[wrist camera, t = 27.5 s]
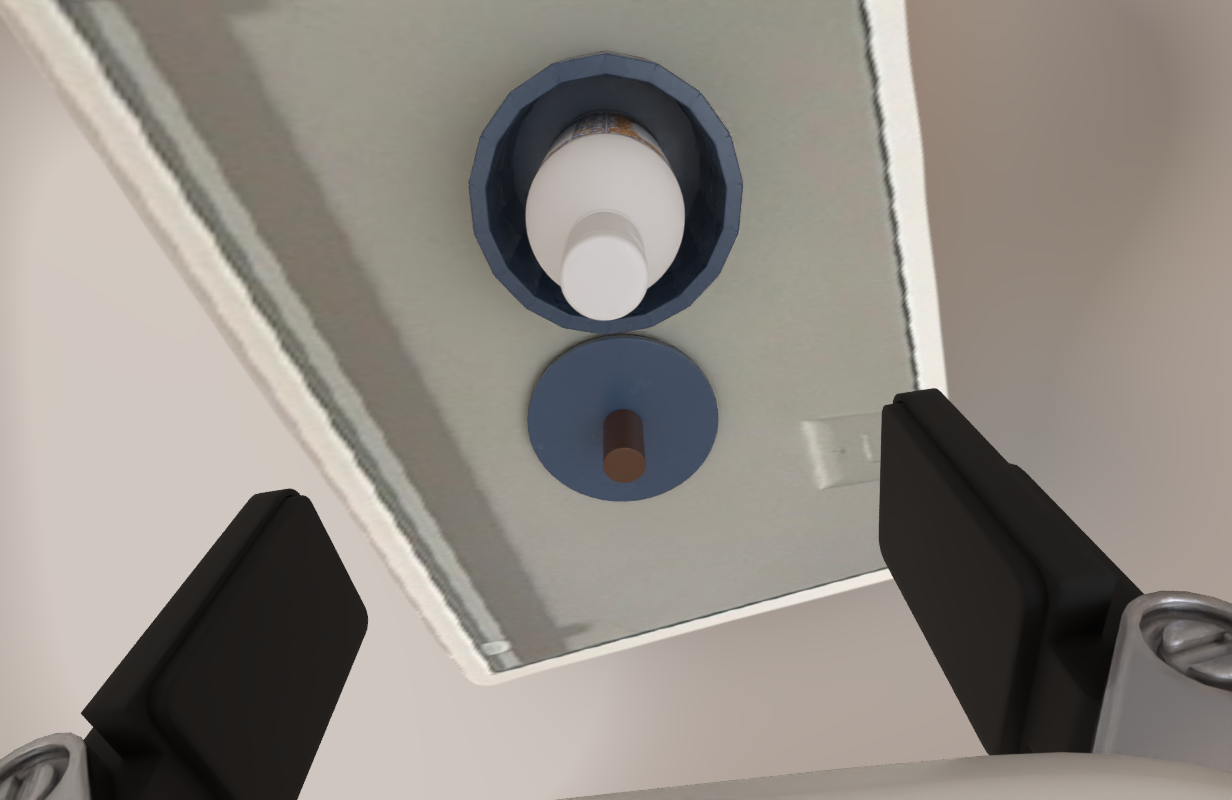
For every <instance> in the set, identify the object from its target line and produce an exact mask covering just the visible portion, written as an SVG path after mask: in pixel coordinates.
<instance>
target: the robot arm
mask: <svg viewBox="0 0 1232 800" xmlns="http://www.w3.org/2000/svg"><path fill="white" fill-rule="evenodd" d="M879 544H880V549H881V553H882V556H883V559H884V561H885V563H886V565H887V567H888V568H889V570H890V572H891V574H892V576H893V578H894V580H895V581H896V583H897V585H898V587H899V589H900V591H901V593H902V595H903V597H904V599H905V600H906V602H907V604H908V606H909V608H910V610H911V611H912V614H913V615H914V617H915V619H916V621H917V623H918V625H919V627H920V628H921V630H922V632H923V634H924V636H925V638H926V640H927V641H928V643H929V645H930V647H931V649H932V651H933V653H934V655H935V657H936V659H937V661H938V662H939V664H940V666H941V668H942V670H943V671H944V674H945V676H946V677H947V679H948V681H949V683H950V685H951V687H952V689H953V691H954V693H955V694H956V696H957V698H958V700H959V702H960V704H961V706H962V707H963V709H964V711H965V713H966V715H967V717H968V719H969V721H970V723H971V724H972V726H973V728H974V730H975V732H976V734H977V736H978V738H979V739H980V741H981V743H982V745H983V747H984V748H985V750H986V752H987V753H988V754H989V756H976V757H965V758H954V759H943V760H932V761H921V762H909V763H898V764H888V765H877V766H865V767H854V768H844V769H834V770H825V771H816V772H807V773H797V774H788V775H778V776H769V777H760V778H751V779H741V780H731V781H722V782H713V783H704V784H695V785H686V786H676V787H667V788H657V789H648V790H639V791H630V792H622V793H612V794H603V795H595V796H585V797H576V798H567V799H558V800H1232V604H1231V603H1228V602H1226V601H1223V600H1220V599H1217V598H1215V597H1211V596H1206V595H1201V594H1196V593H1191V592H1185V591H1158V592H1154V593H1149V594H1143V593H1142V592H1141V591H1140V590H1139V589H1138V588H1137V586H1136V585H1135V584H1134V583H1133V582H1132V581H1131V580H1130V579H1129V578H1128V577H1127V576H1126V575H1125V574H1124V573H1123V572H1122V571H1121V570H1120V569H1119V568H1118V567H1117V566H1116V565H1115V564H1114V563H1113V562H1112V561H1111V560H1110V559H1109V558H1108V557H1107V556H1106V555H1105V554H1104V552H1102V550H1101V549H1100V548H1099V547H1098V546H1097V545H1096V544H1095V543H1094V542H1093V541H1092V540H1091V539H1090V538H1089V537H1088V536H1087V535H1086V534H1085V533H1084V532H1083V531H1082V530H1081V529H1080V528H1079V527H1078V526H1077V525H1076V524H1075V523H1074V522H1073V521H1072V520H1071V518H1069V516H1068V515H1067V514H1066V513H1065V512H1064V511H1063V510H1062V509H1061V508H1060V507H1059V506H1058V505H1057V504H1056V503H1055V502H1054V501H1053V500H1052V499H1051V498H1050V497H1049V496H1048V495H1047V494H1046V493H1045V492H1044V491H1043V490H1042V489H1041V488H1040V487H1039V486H1038V485H1037V483H1036V482H1035V481H1034V480H1032V479H1031V477H1030V476H1029V475H1028V474H1027V473H1026V472H1025V471H1023V470H1022V469H1021V468H1020V467H1018V466H1017V465H1014V464H1010V463H1008V462H1007V461H1006V460H1005V459H1004V458H1003V457H1002V456H1001V455H1000V454H999V453H998V451H997V450H995V448H994V447H993V446H992V445H991V444H990V443H989V442H988V441H987V440H986V439H985V438H984V437H983V436H982V435H981V434H980V433H979V432H978V430H977V429H976V428H974V426H973V425H972V424H971V423H970V422H969V421H968V420H967V419H966V418H965V417H964V416H963V415H962V414H961V413H960V412H959V410H957V408H956V407H955V406H954V405H953V404H952V403H951V402H950V401H949V400H948V399H947V398H946V397H945V396H944V395H943V394H942V393H941V392H940V391H939V390H938V389H935V388H932V389H926V390H919V391H913V392H906V393H900V394H897V395H896V396H895V397H894V400H893V404H890V405H885V406H884V407H883V410H882V427H881V467H880V506H879ZM367 626H368V615H367V611H366V608H365V606H364V604H363V602H362V600H361V598H360V596H359V594H358V592H357V590H356V588H355V586H354V585H353V583H352V581H351V579H350V576H349V575H348V573H347V571H346V569H345V567H344V565H343V563H342V561H341V559H340V557H339V555H338V553H337V551H336V549H335V547H334V545H333V543H332V541H331V539H330V537H329V535H328V534H327V532H326V529H325V528H324V526H323V524H322V522H321V520H320V518H319V516H318V514H317V512H316V510H315V508H314V506H313V504H312V502H311V501H310V499H309V498H308V497H306V496H303V495H302V496H301V495H300V494H299V493H298V492H297V491H296V490H294V489H283V490H277V491H271V492H265V493H259V494H255V495H254V496H252V497H251V498H250V499H249V500H248V502H247V503H246V504H245V506H244V507H243V508H242V509H241V511H240V512H239V513H238V514H237V516H236V517H235V518H234V519H233V521H232V522H231V523H230V525H229V526H228V527H227V528H226V530H225V531H224V532H223V533H222V535H221V536H220V537H219V538H218V540H217V541H216V542H215V544H214V545H213V546H212V547H211V549H210V550H209V551H208V552H207V554H206V555H205V556H204V558H203V559H202V560H201V561H200V563H199V564H198V565H197V566H196V568H195V569H194V570H193V572H192V573H191V574H190V575H189V577H188V578H187V579H186V580H185V582H184V583H183V584H182V585H181V587H180V588H179V589H178V591H177V592H176V593H175V594H174V596H173V597H172V598H171V599H170V601H169V602H168V603H167V604H166V606H165V607H164V608H163V610H162V611H161V612H160V613H159V615H158V616H157V617H156V618H155V620H154V621H153V622H152V623H151V625H150V626H149V627H148V629H147V630H146V631H145V632H144V634H143V635H142V636H141V637H140V639H139V640H138V641H137V643H136V644H135V645H134V646H133V648H132V649H131V650H130V651H129V653H128V654H127V655H126V656H125V658H124V659H123V660H122V662H121V663H120V664H119V665H118V667H117V668H116V669H115V670H114V672H113V673H112V674H111V676H110V677H109V678H108V679H107V681H106V682H105V683H104V685H103V686H102V687H101V688H100V690H99V691H98V692H97V693H96V695H95V696H94V697H93V699H92V700H91V701H90V702H89V703H88V705H87V706H86V707H85V709H84V710H83V711H82V712H81V714H82V715H83V716H84V717H85V719H86V720H87V721H88V722H89V723H90V724H91V725H92V726H93V728H92V730H91V731H90V732H89V734H88V735H87V736H86V738H85V739H84V740H83V739H82V738H81V737H79V736H77V735H75V734H72V733H55V734H52V735H48V736H45V737H42V738H39V739H36V740H34V741H32V742H30V743H28V744H26V745H24V746H22V747H20V748H18V749H16V750H14V751H13V752H11V753H10V754H8V755H7V756H5V757H4V758H2V759H1V760H0V800H297V799H298V796H299V794H300V791H301V789H302V787H303V784H304V782H305V779H306V777H307V774H308V772H309V769H310V767H311V765H312V762H313V760H314V757H315V755H316V752H317V750H318V748H319V745H320V743H321V740H322V738H323V736H324V733H325V731H326V728H327V726H328V723H329V721H330V718H331V716H332V714H333V711H334V709H335V706H336V704H337V702H338V699H339V697H340V694H341V692H342V689H343V687H344V685H345V682H346V680H347V677H348V675H349V672H350V670H351V667H352V665H353V663H354V660H355V658H356V656H357V653H358V651H359V648H360V646H361V643H362V641H363V638H364V636H365V634H366V631H367Z"/></svg>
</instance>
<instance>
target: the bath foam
mask: <svg viewBox="0 0 1232 800" xmlns="http://www.w3.org/2000/svg"><path fill="white" fill-rule="evenodd" d="M684 223H685V206H684V199H683V194H682V191H681V188H680V185H679V182H678V180H677V178H676V176H675V174H674V172H673V170H672V168H671V166H670V164H669V162H668V160H667V158H666V156H665V154H664V152H663V150H662V148H661V146H660V144H659V143H658V141H657V139H656V138H655V136H654V135H653V133H652V132H651V131H650V130H649V129H648V128H647V127H646V126H645V125H644V124H643V123H642V122H641V121H639V120H638V119H636V118H635V117H633V116H631V115H629V114H626V113H623V112H620V111H615V110H597V111H592V112H589V113H586V114H583V115H581V116H580V117H578V118H576V119H575V120H573V121H572V122H571V123H569V124H568V125H567V126H566V127H565V128H564V129H563V130H562V131H561V132H560V133H559V135H558V136H557V138H556V139H555V141H554V142H553V144H552V146H551V148H550V149H549V151H548V153H547V155H546V156H545V158H544V160H543V162H542V164H541V165H540V167H539V169H538V171H537V173H536V174H535V176H534V178H533V180H532V183H531V185H530V188H529V192H528V196H527V201H526V228H527V234H528V238H529V242H530V245H531V248H532V250H533V253H534V255H535V257H536V259H537V261H538V262H539V264H540V265H541V267H542V268H543V270H544V271H545V272H546V273H547V275H548V276H549V277H550V278H551V279H552V280H553V281H554V282H556V283H557V284H558V285H559V286H561V289H562V292H563V294H564V296H565V298H566V300H567V301H568V303H569V304H570V305H571V306H572V307H573V308H574V309H575V310H576V311H577V312H579V313H580V314H582V315H584V316H586V317H588V318H591V319H595V320H603V321H606V320H614V319H618V318H621V317H623V316H625V315H627V314H628V313H630V312H631V311H633V310H634V309H635V308H636V307H637V306H638V305H639V304H640V302H641V301H642V299H643V297H644V295H645V293H646V290H647V288H649V287H650V286H652V285H653V284H654V283H655V282H656V281H658V280H659V279H660V278H661V277H662V275H663V274H664V273H665V272H666V271H667V269H668V268H669V267H670V265H671V264H672V262H673V260H674V258H675V256H676V254H677V252H678V249H679V247H680V244H681V241H682V237H683V231H684Z"/></svg>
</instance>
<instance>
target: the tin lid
mask: <svg viewBox="0 0 1232 800" xmlns="http://www.w3.org/2000/svg"><path fill="white" fill-rule="evenodd" d="M717 427H718V409H717V404H716V399H715V396H714V393H713V391H712V388H711V385H710V384H709V382H708V380H707V378H706V376H705V375H704V374H703V372H702V371H701V370H700V368H699V367H698V366H697V365H696V364H695V363H694V362H693V361H692V360H691V359H690V358H689V357H687V356H686V355H685V354H683V353H682V352H681V351H679V350H677V349H675V348H674V347H672V346H670V345H668V344H665V343H663V342H661V341H658V340H654V339H651V338H647V337H641V336H634V335H614V336H605V337H601V338H597V339H592V340H590V341H587V342H584V343H582V344H579V345H577V346H575V347H573V348H572V349H570V350H568V351H567V352H565V353H564V354H562V355H561V356H559V357H558V358H557V359H556V360H555V361H554V362H553V363H552V364H551V365H550V366H549V367H548V368H547V369H546V370H545V372H544V373H543V374H542V376H541V377H540V379H539V381H538V382H537V384H536V386H535V388H534V391H533V393H532V396H531V400H530V404H529V409H528V431H529V436H530V440H531V443H532V446H533V449H534V451H535V453H536V455H537V456H538V458H539V460H540V461H541V463H542V464H543V465H544V467H545V468H546V469H547V470H548V471H549V472H550V473H551V474H552V475H553V476H554V477H555V478H556V479H557V480H559V481H560V482H561V483H563V484H564V485H566V486H567V487H569V488H571V489H573V490H575V491H577V492H579V493H581V494H584V495H587V496H590V497H593V498H597V499H601V500H608V501H636V500H642V499H647V498H651V497H654V496H657V495H660V494H663V493H665V492H667V491H669V490H671V489H673V488H675V487H677V486H678V485H680V484H682V483H683V482H684V481H685V480H687V479H688V478H689V477H691V476H692V475H693V474H694V473H695V472H696V471H697V470H698V469H699V467H700V466H701V465H702V464H703V462H704V461H705V459H706V458H707V456H708V454H709V453H710V451H711V448H712V446H713V444H714V441H715V437H716V433H717Z"/></svg>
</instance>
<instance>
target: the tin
mask: <svg viewBox="0 0 1232 800" xmlns="http://www.w3.org/2000/svg"><path fill="white" fill-rule="evenodd" d="M597 110H615V111H620V112H623V113H626V114H629V115H631V116H633V117H635V118H636V119H638V120H639V121H641V122H642V123H643V124H644V125H645V126H646V127H647V128H648V129H649V130H650V131H651V132H652V133H653V135H654V136H655V138H656V139H657V141H658V143H659V144H660V146H661V148H662V150H663V152H664V154H665V156H666V158H667V160H668V162H669V164H670V166H671V168H672V170H673V172H674V174H675V176H676V178H677V180H678V182H679V185H680V188H681V191H682V194H683V199H684V206H685V223H684V231H683V237H682V241H681V244H680V247H679V249H678V252H677V254H676V256H675V258H674V260H673V262H672V264H671V265H670V267H669V268H668V269H667V271H666V272H665V273H664V274H663V275H662V277H661V278H660V279H659V280H658V281H656V282H655V283H654V284H653V285H652V286H650V287H649V288H647V290H646V293H645V295H644V297H643V299H642V301H641V302H640V304H639V305H638V306H637V307H636V308H635V309H634V310H633V311H631V312H630V313H628V314H627V315H625V316H623V317H621V318H618V319H614V320H606V321H603V320H595V319H591V318H588V317H586V316H584V315H582V314H580V313H579V312H577V311H576V310H575V309H574V308H573V307H572V306H571V305H570V304H569V303H568V301H567V300H566V298H565V296H564V294H563V292H562V289H561V286H559V285H558V284H557V283H556V282H554V281H553V280H552V279H551V278H550V277H549V276H548V275H547V273H546V272H545V271H544V270H543V268H542V267H541V265H540V264H539V262H538V261H537V259H536V257H535V255H534V253H533V250H532V248H531V245H530V242H529V238H528V234H527V228H526V201H527V196H528V192H529V188H530V185H531V183H532V180H533V178H534V176H535V174H536V173H537V171H538V169H539V167H540V165H541V164H542V162H543V160H544V158H545V156H546V155H547V153H548V151H549V149H550V148H551V146H552V144H553V142H554V141H555V139H556V138H557V136H558V135H559V133H560V132H561V131H562V130H563V129H564V128H565V127H566V126H567V125H568V124H569V123H571V122H572V121H573V120H575V119H576V118H578V117H580V116H581V115H583V114H586V113H589V112H592V111H597ZM742 183H743V180H742V176H741V173H740V169H739V165H738V161H737V157H736V153H735V149H734V146H733V142H732V138H731V136H730V133H729V132H728V130H727V129H726V127H725V126H724V124H723V123H722V122H721V120H720V119H719V117H718V116H717V114H716V113H715V112H714V110H713V109H712V107H711V106H710V104H709V103H708V102H707V100H706V99H705V97H704V96H703V95H702V94H701V93H700V91H698V90H697V89H695V88H694V87H692V86H691V85H689V84H688V83H686V82H685V81H683V80H682V79H680V78H679V77H677V76H676V75H674V74H673V73H671V72H670V71H668V70H667V69H665V68H664V67H662V66H661V65H659V64H657V63H655V62H652V61H650V60H648V59H645V58H641V57H636V56H631V55H626V54H621V53H616V52H611V51H601V52H596V53H591V54H586V55H582V56H577V57H572V58H567V59H564V60H562V61H559V62H556V63H553V64H551V65H550V66H548V67H547V68H545V69H544V70H542V71H541V72H539V73H538V74H536V75H535V76H533V77H532V78H530V79H529V80H528V81H526V82H525V83H523V84H522V85H520V86H519V87H517V88H516V89H514V90H513V91H511V92H510V94H508V96H507V97H506V99H505V100H504V101H503V103H502V104H501V106H500V107H499V109H498V110H497V112H496V113H495V115H494V116H493V118H492V119H491V120H490V122H489V123H488V125H487V126H486V128H485V129H484V131H483V132H482V134H481V136H480V139H479V143H478V147H477V151H476V155H475V159H474V163H473V167H472V171H471V176H470V180H469V193H470V202H471V212H472V221H473V230H474V232H475V233H474V235H475V237H476V239H477V241H478V243H479V245H480V247H481V249H482V251H483V254H484V256H485V258H486V260H487V262H488V264H489V266H490V268H491V271H492V273H493V274H494V275H495V277H496V278H497V279H498V280H499V281H500V282H501V283H502V284H503V285H504V286H505V287H506V288H507V289H508V290H509V292H510V293H511V294H512V295H513V296H514V297H515V298H516V299H517V300H518V301H519V302H520V303H521V304H522V305H523V306H524V307H526V309H528V310H530V311H532V312H534V313H536V314H538V315H540V316H542V317H543V318H545V319H547V320H549V321H551V322H553V323H555V324H557V325H559V326H561V327H563V328H566V329H572V330H579V331H585V332H591V333H598V334H604V335H607V334H608V335H610V334H616V333H622V332H628V331H633V330H639V329H645V328H649V327H652V326H654V325H656V324H658V323H660V322H662V321H664V320H665V319H667V318H669V317H671V316H673V315H675V314H677V313H679V312H680V311H682V310H684V309H686V308H687V307H690V305H691V304H692V303H693V302H694V301H695V300H696V299H697V298H698V297H699V296H700V295H701V294H702V293H703V292H704V291H705V290H706V288H707V287H708V286H709V285H710V284H711V283H712V282H713V281H714V280H715V279H716V278H717V277H718V276H719V274H720V272H721V270H722V268H723V266H724V264H725V261H726V259H727V257H728V255H729V253H730V250H731V248H732V246H733V244H734V242H735V239H736V237H737V235H738V231H739V224H740V213H741V202H742V191H743V184H742Z"/></svg>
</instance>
